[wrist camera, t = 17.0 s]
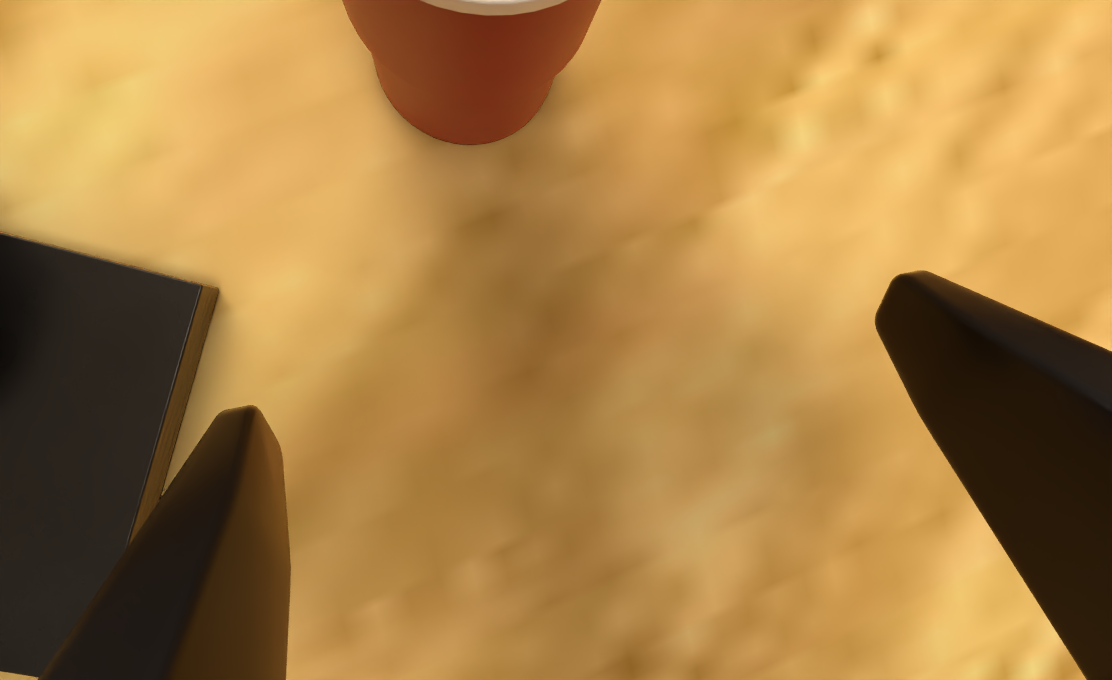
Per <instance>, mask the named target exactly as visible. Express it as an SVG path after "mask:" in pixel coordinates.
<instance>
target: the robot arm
mask: <svg viewBox="0 0 1112 680" xmlns="http://www.w3.org/2000/svg"><path fill="white" fill-rule="evenodd" d="M875 325H876V329H877V332H878V334H879V336H880V338H881V340H882V342H883V344H884V346H885V348H886V350H887V352H888V354H889V356H890V358H891V360H892V362H893V364H894V366H895V368H896V370H897V372H898V374H899V376H900V378H901V380H902V382H903V384H904V386H905V388H906V390H907V392H908V394H909V396H910V398H911V400H912V402H913V404H914V406H915V408H916V410H917V412H918V414H919V415H920V417H921V419H922V420H923V422H924V424H925V425H926V427H927V429H928V430H929V432H930V433H931V435H932V437H933V438H934V440H935V441H936V443H937V444H938V446H939V448H940V449H941V451H942V452H943V454H944V456H945V457H946V459H947V460H948V462H949V463H950V465H951V467H952V468H953V470H954V471H955V473H956V474H957V476H958V478H959V479H960V481H961V482H962V484H963V485H964V487H965V489H966V490H967V492H968V493H969V495H970V496H971V498H972V500H973V501H974V503H975V504H976V506H977V508H978V509H979V511H980V512H981V514H982V515H983V517H984V519H985V520H986V522H987V523H988V525H989V526H990V528H991V530H992V531H993V533H994V534H995V536H996V537H997V539H998V541H999V542H1000V544H1001V545H1002V547H1003V548H1004V550H1005V552H1006V553H1007V555H1008V556H1009V558H1010V560H1011V561H1012V563H1013V564H1014V566H1015V567H1016V569H1017V571H1018V572H1019V574H1020V575H1021V577H1022V578H1023V580H1024V582H1025V583H1026V585H1027V586H1028V588H1029V589H1030V591H1031V593H1032V594H1033V596H1034V597H1035V599H1036V600H1037V602H1038V604H1039V605H1040V607H1041V608H1042V610H1043V611H1044V613H1045V615H1046V616H1047V618H1048V619H1049V621H1050V623H1051V624H1052V626H1053V627H1054V629H1055V630H1056V632H1057V634H1058V635H1059V637H1060V638H1061V640H1062V641H1063V643H1064V645H1065V646H1066V648H1067V649H1068V651H1069V652H1070V654H1071V656H1072V657H1073V659H1074V660H1075V662H1076V663H1077V665H1078V667H1079V668H1080V670H1081V671H1082V673H1083V675H1084V676H1085V678H1086V679H1087V680H1112V352H1111V351H1109V350H1107V349H1105V348H1102V347H1100V346H1098V345H1095V344H1093V343H1091V342H1089V341H1086V340H1084V339H1082V338H1079V337H1077V336H1075V335H1073V334H1070V333H1068V332H1066V331H1063V330H1061V329H1059V328H1056V327H1054V326H1052V325H1050V324H1047V323H1045V322H1043V321H1040V320H1038V319H1036V318H1034V317H1031V316H1029V315H1027V314H1024V313H1022V312H1020V311H1018V310H1015V309H1013V308H1011V307H1008V306H1006V305H1004V304H1002V303H999V302H997V301H995V300H992V299H990V298H988V297H985V296H983V295H981V294H979V293H976V292H974V291H972V290H969V289H967V288H965V287H963V286H960V285H958V284H956V283H953V282H951V281H949V280H947V279H944V278H942V277H940V276H937V275H935V274H933V273H931V272H928V271H914V272H909V273H904V274H900V275H897V276H896V277H895V278H893V280H892V281H891V283H890V285H889V287H888V289H887V291H886V293H885V295H884V297H883V300H882V302H881V304H880V306H879V308H878V310H877V312H876V315H875ZM290 576H291V564H290V547H289V535H288V522H287V509H286V496H285V483H284V471H283V459H282V452H281V448H280V445H279V443H278V441H277V439H276V437H275V435H274V433H273V432H272V430H271V428H270V426H269V425H268V423H267V421H266V419H265V418H264V416H263V414H262V412H261V411H260V410H259V409H258V408H257V407H256V406H254V405H248V406H243V407H238V408H233V409H228V410H225V411H222V412H221V413H220V414H218V415H217V416H216V418H215V419H214V421H213V422H212V424H211V425H210V427H209V428H208V430H207V431H206V432H205V434H204V435H203V437H202V438H201V440H200V441H199V443H198V444H197V446H196V447H195V449H194V450H193V452H192V453H191V455H190V456H189V458H188V459H187V460H186V462H185V463H184V465H183V466H182V468H181V469H180V471H179V472H178V474H177V475H176V477H175V478H174V480H173V481H172V483H171V484H170V486H169V487H168V488H167V490H166V491H165V493H164V494H163V496H162V497H161V499H160V500H159V502H158V503H157V505H156V506H155V508H154V509H153V511H152V512H151V514H150V515H149V516H148V518H147V519H146V521H145V522H144V524H143V525H142V527H141V528H140V530H139V531H138V533H137V534H136V536H135V537H134V539H133V540H132V542H131V543H130V544H129V546H128V547H127V549H126V550H125V552H124V553H123V555H122V556H121V558H120V559H119V561H118V562H117V564H116V565H115V567H114V568H113V570H112V571H111V572H110V574H109V575H108V577H107V578H106V580H105V581H104V583H103V584H102V586H101V587H100V589H99V590H98V592H97V593H96V595H95V596H94V598H93V599H92V600H91V602H90V603H89V605H88V606H87V608H86V609H85V611H84V612H83V614H82V615H81V617H80V618H79V620H78V621H77V623H76V624H75V626H74V627H73V629H72V630H71V631H70V633H69V634H68V636H67V637H66V639H65V640H64V642H63V643H62V645H61V646H60V648H59V649H58V651H57V652H56V654H55V655H54V657H53V658H52V659H51V661H50V662H49V664H48V665H47V667H46V668H45V670H44V671H43V673H42V674H41V676H40V677H39V679H38V680H286V666H287V645H288V624H289V603H290Z"/></svg>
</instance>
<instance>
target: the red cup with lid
mask: <svg viewBox="0 0 1112 680" xmlns="http://www.w3.org/2000/svg"><path fill="white" fill-rule="evenodd" d="M600 2H601V0H343V3H344V6H345V8H346V11H347V14H348V16H349V19H350V21H351V22H352V24H353V26H354V28H355V30H356V32H357V34H358V35H359V37H360V38H361V39H362V41H363V42H364V44H365V45H366V46H367V48H368V49H369V50H370V51H371V53H372V56H373V60H374V64H375V67H376V71H377V75H378V78H379V80H380V83H381V86H382V88H383V90H384V92H385V93H386V95H387V97H388V99H389V100H390V102H391V103H392V104H393V106H394V107H395V108H396V110H397V111H398V112H399V113H400V114H401V115H402V116H403V117H404V118H405V119H406V120H407V121H409V122H410V123H411V124H412V125H413V126H415V127H416V128H418V129H419V130H421V131H422V132H424V133H426V134H428V135H430V136H432V137H435V138H438V139H440V140H443V141H447V142H451V143H456V144H467V145H472V144H484V143H489V142H493V141H496V140H499V139H502V138H505V137H507V136H509V135H511V134H513V133H514V132H516V131H517V130H519V129H520V128H522V127H523V126H524V125H525V124H526V123H527V122H529V121H530V120H531V119H532V117H533V116H534V115H535V114H536V113H537V112H538V110H539V108H540V107H541V105H542V104H543V102H544V100H545V98H546V96H547V94H548V91H549V89H550V86H551V84H552V81H553V79H554V76H555V75H556V74H558V73H559V72H560V71H561V70H562V69H563V68H564V67H565V66H566V65H567V63H568V62H569V61H570V60H571V59H572V58H573V56H574V55H575V53H576V52H577V50H578V48H579V47H580V45H581V44H582V41H583V39H584V37H585V35H586V33H587V31H588V28H589V26H590V24H591V22H592V19H593V17H594V15H595V13H596V11H597V8H598V6H599V4H600Z"/></svg>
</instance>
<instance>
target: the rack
mask: <svg viewBox="0 0 1112 680" xmlns="http://www.w3.org/2000/svg"><path fill="white" fill-rule="evenodd" d="M218 292H219V289H218V288H216V287H212V286H208V285H204V284H200V283H197V282H193V281H189V280H185V279H181V278H177V277H173V276H170V275H166V274H162V273H158V272H154V271H150V270H147V269H143V268H139V267H135V266H131V265H127V264H124V263H120V262H116V261H112V260H108V259H104V258H100V257H97V256H93V255H89V254H85V253H81V252H77V251H74V250H70V249H66V248H62V247H58V246H54V245H50V244H47V243H43V242H39V241H35V240H31V239H27V238H24V237H20V236H16V235H12V234H8V233H4V232H0V671H3V672H9V673H15V674H22V675H28V676H34V677H40V676H41V674H42V673H43V671H44V670H45V668H46V667H47V665H48V664H49V662H50V661H51V659H52V658H53V657H54V655H55V654H56V652H57V651H58V649H59V648H60V646H61V645H62V643H63V642H64V640H65V639H66V637H67V636H68V634H69V633H70V631H71V630H72V629H73V627H74V626H75V624H76V623H77V621H78V620H79V618H80V617H81V615H82V614H83V612H84V611H85V609H86V608H87V606H88V605H89V603H90V602H91V600H92V599H93V598H94V596H95V595H96V593H97V592H98V590H99V589H100V587H101V586H102V584H103V583H104V581H105V580H106V578H107V577H108V575H109V574H110V572H111V571H112V570H113V568H114V567H115V565H116V564H117V562H118V561H119V559H120V558H121V556H122V555H123V553H124V552H125V550H126V549H127V547H128V546H129V544H130V543H131V542H132V540H133V539H134V537H135V536H136V534H137V533H138V531H139V530H140V528H141V527H142V525H143V524H144V522H145V521H146V519H147V518H148V516H149V515H150V514H151V512H152V511H153V509H154V508H155V506H156V505H157V503H158V502H159V498H160V495H161V491H162V488H163V484H164V481H165V477H166V474H167V470H168V467H169V463H170V460H171V456H172V453H173V449H174V446H175V442H176V439H177V435H178V432H179V428H180V425H181V421H182V418H183V414H184V411H185V407H186V404H187V400H188V397H189V393H190V390H191V386H192V383H193V379H194V376H195V372H196V369H197V365H198V362H199V358H200V355H201V351H202V348H203V344H204V341H205V337H206V334H207V330H208V327H209V323H210V320H211V316H212V313H213V309H214V306H215V302H216V299H217V295H218Z"/></svg>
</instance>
